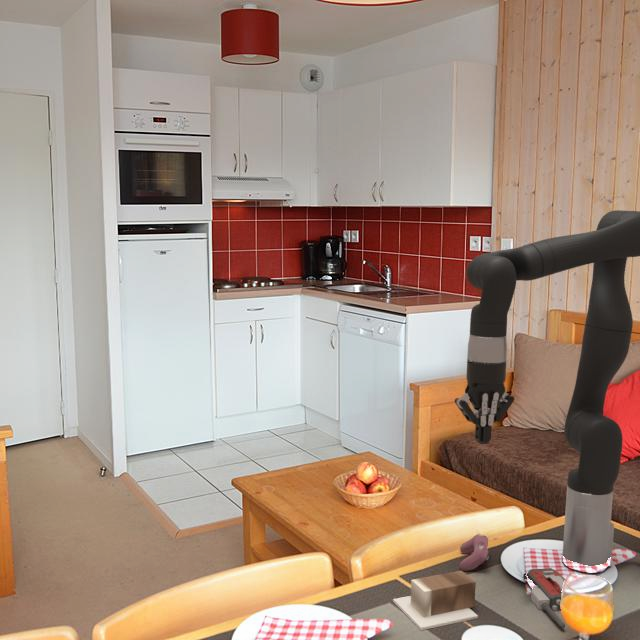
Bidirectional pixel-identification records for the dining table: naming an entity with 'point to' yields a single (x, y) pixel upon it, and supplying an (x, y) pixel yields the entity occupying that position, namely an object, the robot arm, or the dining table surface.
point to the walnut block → (442, 593)
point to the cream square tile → (434, 620)
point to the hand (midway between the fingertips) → (482, 442)
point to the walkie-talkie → (547, 591)
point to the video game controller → (474, 552)
